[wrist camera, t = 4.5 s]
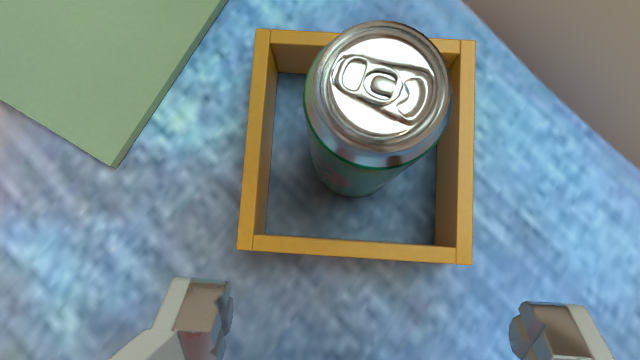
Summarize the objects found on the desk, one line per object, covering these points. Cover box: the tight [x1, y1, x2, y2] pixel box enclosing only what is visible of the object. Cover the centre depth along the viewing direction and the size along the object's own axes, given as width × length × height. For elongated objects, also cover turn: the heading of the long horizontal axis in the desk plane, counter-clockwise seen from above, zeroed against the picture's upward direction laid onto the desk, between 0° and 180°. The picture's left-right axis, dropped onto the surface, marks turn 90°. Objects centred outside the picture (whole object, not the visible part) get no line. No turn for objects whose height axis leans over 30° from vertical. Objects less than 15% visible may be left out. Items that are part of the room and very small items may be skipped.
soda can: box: [303, 20, 453, 197], centre depth 18 cm, size 5×5×12 cm
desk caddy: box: [236, 29, 476, 265], centre depth 22 cm, size 12×12×4 cm
